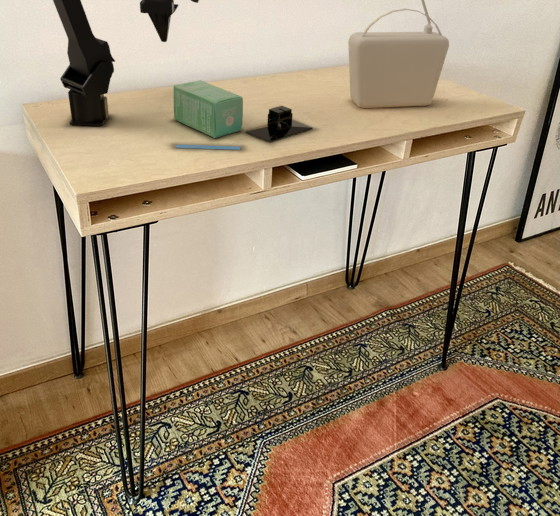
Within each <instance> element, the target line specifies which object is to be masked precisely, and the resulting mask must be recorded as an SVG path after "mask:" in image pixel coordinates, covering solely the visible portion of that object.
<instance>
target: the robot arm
mask: <svg viewBox="0 0 560 516" xmlns="http://www.w3.org/2000/svg"><path fill="white" fill-rule="evenodd" d="M190 1H191V2H193V3H196V4H198V3H199V1H200V0H190ZM52 2H53V5H54V7H55V9H56V12H57V14H58V17H59V19H60V22H61V24H62V27H63V30H64V31H65V35H66V37H67V58H68V63H69V64H68V66H67V67H66V69H65V71H64V72H63V73H62V75H61V76H60V82H61V84H62V86H63V87H64V88H65V89H67V90H68V92H67V94H68V96H67V97H68V101H69V102H68V103H69V107H70V108H69V110H70V116H71V120H70V121H69V122H68V123H69V125H70V126H92V127H96V126H97V127H102V126H104V124H105V122H106V121H107V120H108V118H109V115H110V114H109V104H108V97H107V96H105V95H106V94H108V93H109V89H110V85H111V84H110V83H111V79H112V76H113V74H114V72H115V66H114V63H115V62H116V59H115V58H114V57H113V55H112V54H111V53H112V52H111V49H110V48H111V47H110V45H109V43H108V41H107V40H104V39H100V38H98V37H96V36H95V35H94V33H93V31H92V27H91V25H90V22H89V19H88V17H87V14H86V11H85V8H84V6H83V2H82V0H52ZM178 7H179V4H177V3H175V0H140V1H139V11H140V14H147V15H148V17H149V19H150V21H151V22H152V25H153V27H154V30H155V31H156V33H157V35H158V37H159V39H160V41H161V42H162V43H167V41H168V37H169V30H170V25H171V18H172V15H173V14H174V13H175V12H176V10H177V9H178Z"/></svg>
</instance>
